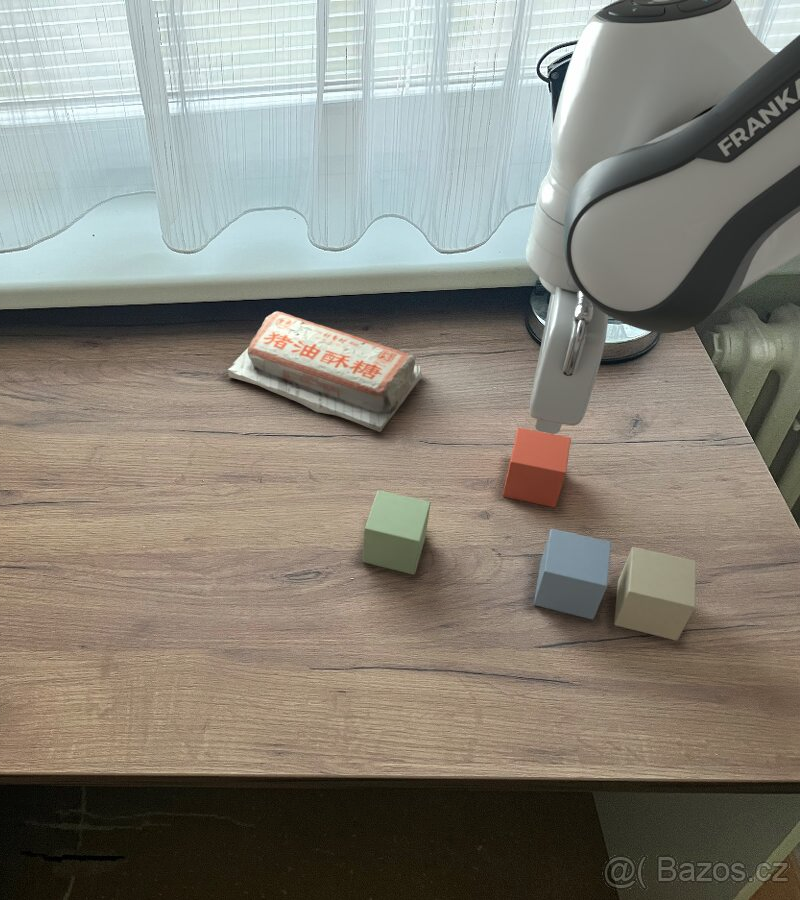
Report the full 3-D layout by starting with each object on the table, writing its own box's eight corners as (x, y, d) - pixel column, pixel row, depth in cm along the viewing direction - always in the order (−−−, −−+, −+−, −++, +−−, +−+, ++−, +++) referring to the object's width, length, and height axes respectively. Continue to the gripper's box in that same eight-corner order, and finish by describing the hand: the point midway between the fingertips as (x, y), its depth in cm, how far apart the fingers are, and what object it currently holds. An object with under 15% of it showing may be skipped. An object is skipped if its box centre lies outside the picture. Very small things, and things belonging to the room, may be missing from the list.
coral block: (560, 472, 80) (571, 437, 77) (555, 507, 77) (566, 472, 74) (509, 462, 81) (517, 427, 78) (502, 496, 78) (510, 461, 75)
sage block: (425, 535, 76) (431, 501, 73) (414, 575, 73) (419, 541, 70) (374, 523, 77) (377, 489, 74) (361, 562, 75) (364, 528, 71)
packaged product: (428, 341, 87) (383, 400, 82) (424, 378, 90) (380, 437, 85) (273, 292, 95) (223, 342, 90) (274, 327, 99) (226, 378, 93)
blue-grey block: (597, 576, 72) (611, 541, 68) (593, 620, 69) (607, 586, 66) (540, 562, 73) (550, 528, 70) (533, 605, 70) (544, 571, 67)
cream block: (678, 595, 70) (696, 560, 66) (677, 641, 67) (695, 607, 64) (617, 580, 71) (632, 546, 68) (613, 625, 68) (628, 591, 65)
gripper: (636, 336, 54) (583, 487, 63) (649, 175, 67) (604, 321, 76) (529, 319, 56) (494, 468, 65) (562, 166, 69) (529, 310, 78)
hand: (553, 388), depth 71 cm, fingers open, 8 cm apart
